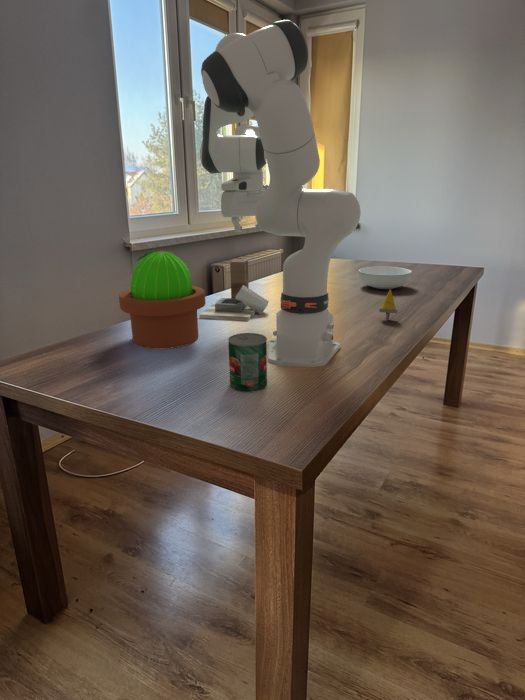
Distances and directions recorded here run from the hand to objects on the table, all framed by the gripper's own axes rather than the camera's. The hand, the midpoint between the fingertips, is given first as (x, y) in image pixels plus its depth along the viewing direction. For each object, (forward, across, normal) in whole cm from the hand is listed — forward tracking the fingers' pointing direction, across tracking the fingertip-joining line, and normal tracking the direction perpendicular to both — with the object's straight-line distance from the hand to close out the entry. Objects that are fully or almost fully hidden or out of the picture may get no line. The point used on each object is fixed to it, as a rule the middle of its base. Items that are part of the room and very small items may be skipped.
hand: (248, 231), depth 151 cm
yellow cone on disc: (+27, -20, +39) cm, 51 cm away
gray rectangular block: (+19, +2, -3) cm, 19 cm away
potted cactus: (+27, +36, +1) cm, 45 cm away
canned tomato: (+28, +44, +41) cm, 66 cm away
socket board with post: (+26, +1, -6) cm, 27 cm away
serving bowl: (+26, -65, +14) cm, 72 cm away
